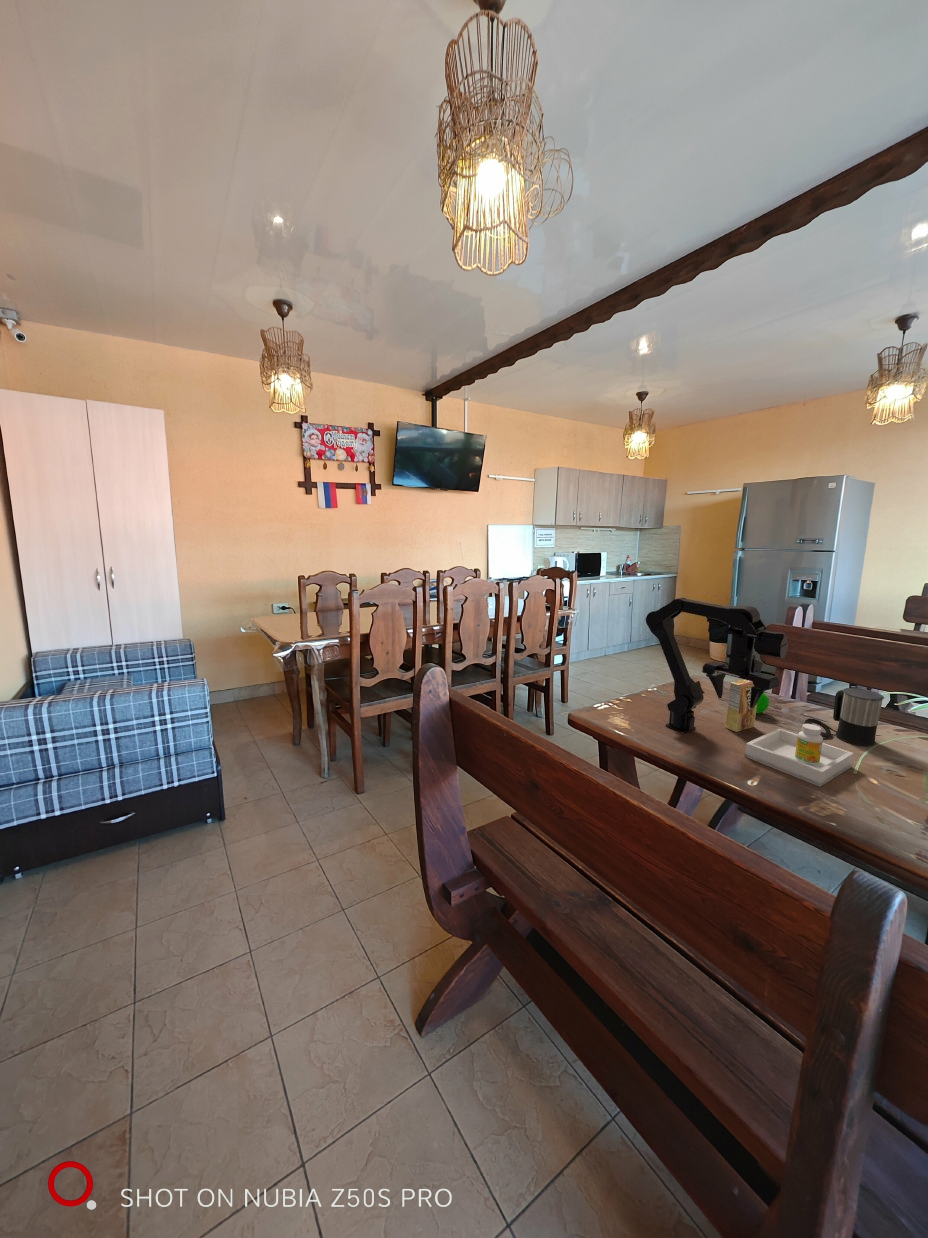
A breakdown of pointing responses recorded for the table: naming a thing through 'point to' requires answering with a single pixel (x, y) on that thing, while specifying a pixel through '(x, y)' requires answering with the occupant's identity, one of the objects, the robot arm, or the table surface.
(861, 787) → the table surface
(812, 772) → the box
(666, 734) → the table surface
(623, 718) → the table surface
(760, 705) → the ornament
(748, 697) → the candy box
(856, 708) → the milk frother
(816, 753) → the supplement bottle
